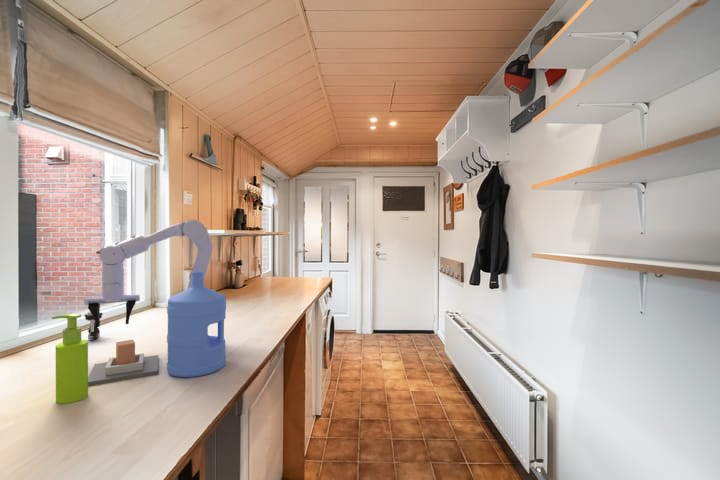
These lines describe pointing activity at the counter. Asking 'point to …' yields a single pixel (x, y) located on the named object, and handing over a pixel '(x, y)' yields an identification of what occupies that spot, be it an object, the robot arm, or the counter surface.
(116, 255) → the robot arm
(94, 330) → the caster wheel
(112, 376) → the mounting socket
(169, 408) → the counter surface
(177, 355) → the water jug
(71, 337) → the soap dispenser
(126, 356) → the wooden peg
